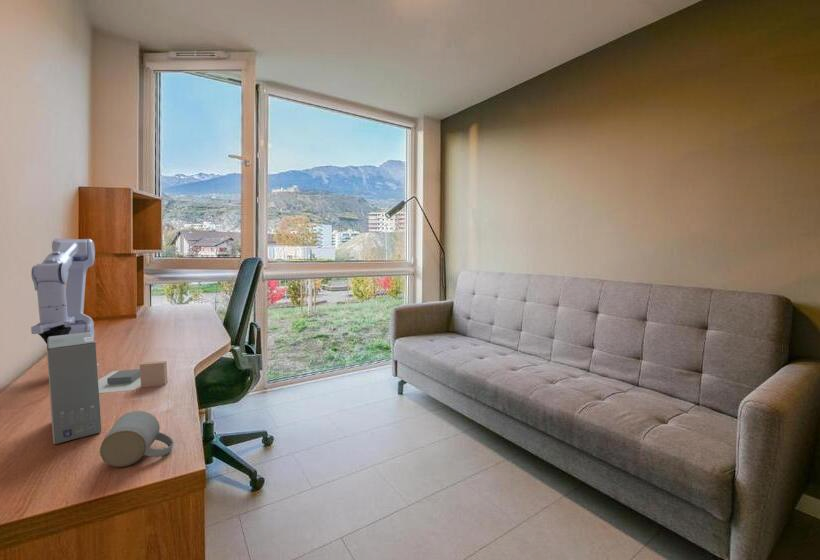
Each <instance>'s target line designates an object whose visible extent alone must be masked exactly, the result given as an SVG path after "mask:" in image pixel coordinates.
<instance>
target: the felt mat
mask: <svg viewBox="0 0 820 560" xmlns="http://www.w3.org/2000/svg"><path fill="white" fill-rule="evenodd" d="M118 371H119V370H112V371H111V372H109V373H107V374H106V375H104V376H102V377H101V378H98V387H99V394H104V393H106V394H107V393H118V392H128V391H129V392H130V391H135V390H136V389H137V388H138V387H141V379H140V377H139V378H137V379H136V380H135V381H133V382H132V383H125V384H113V385H109V384H108V383H107V378H109V377H110V376H112V375H113V374H115V373H117V372H118Z"/></svg>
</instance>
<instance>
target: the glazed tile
mask: <svg viewBox="0 0 820 560" xmlns="http://www.w3.org/2000/svg"><path fill="white" fill-rule="evenodd" d="M117 371H118V372H117V373H115V374H113V375H112V376H110V377H109V378H107V383H108V384H109V385H113V384H125V383H132V382H133V381H135V380H136V379H137V378H139V377H140V368H138V369H123V370H117Z"/></svg>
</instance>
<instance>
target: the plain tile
mask: <svg viewBox="0 0 820 560" xmlns="http://www.w3.org/2000/svg"><path fill="white" fill-rule="evenodd" d="M167 364H168V363H167V360H161V361H146V362H141V363H139V369H140V379H141V385H140V388H149V387H161V386H166V385H167V384H168V382H169V381H168V368H167V367H168V366H167Z"/></svg>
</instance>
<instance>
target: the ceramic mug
mask: <svg viewBox="0 0 820 560" xmlns="http://www.w3.org/2000/svg"><path fill="white" fill-rule="evenodd" d="M160 428H161V427H160V421H159V420H158V419H157V417H156V416H155V415H153V414H152V413H150V412H148V411H145V410H144V411H143V410H134V411H130V412H127V413H125V414H123V415H121V416H120V417H119V418H118V419H117V420H116V421H115V423H114V424H113V426H112V427H111V428H110V430H109V431H108V433H107V434H106V435H105V437H104V438H103V440H102V442H101V445H100V450H99V455H100V457H101V460H103V462H104V463H106V464H107V465H108V466H111V467H115V468H121V467H124V468H125V467H128V466H131V465H134V464H135V463H137V462H138V461H139V460H141V459H142V458H143V457H144V456H147V457H150V458H159V457H164V456H166V455H168V454H169V453H170V452H172V449H173V446H174V442H175V441H174V439H173V438H172V437H171V436H169V435H167V434H166V433H163V432H160ZM155 441H157V442H158V441H159V442H161V443H164V445H167V447H166V448H153V447H152V448H151V446H152V445H153V443H154V442H155Z"/></svg>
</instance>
